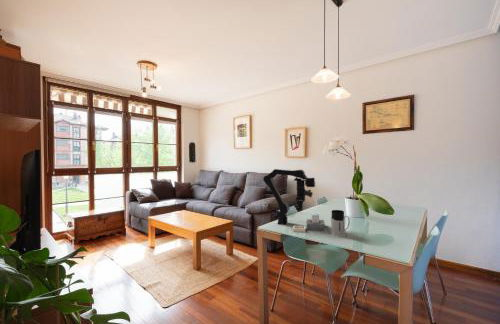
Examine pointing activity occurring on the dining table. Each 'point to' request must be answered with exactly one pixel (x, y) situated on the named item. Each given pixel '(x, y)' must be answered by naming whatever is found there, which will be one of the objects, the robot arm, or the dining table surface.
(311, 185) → the robot arm
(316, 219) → the plug
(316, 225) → the port
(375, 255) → the dining table surface
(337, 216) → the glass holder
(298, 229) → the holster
